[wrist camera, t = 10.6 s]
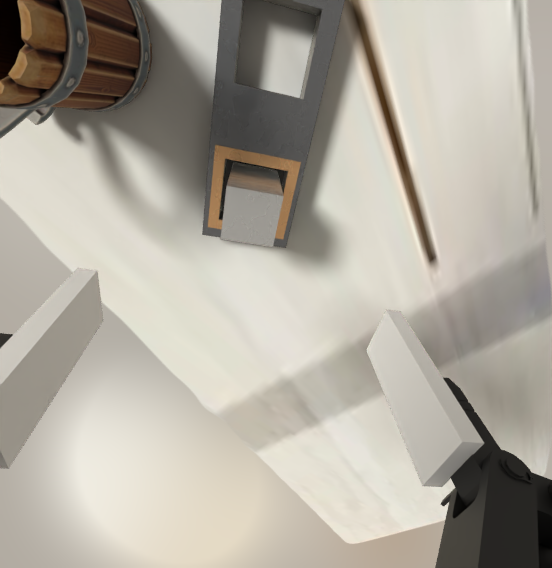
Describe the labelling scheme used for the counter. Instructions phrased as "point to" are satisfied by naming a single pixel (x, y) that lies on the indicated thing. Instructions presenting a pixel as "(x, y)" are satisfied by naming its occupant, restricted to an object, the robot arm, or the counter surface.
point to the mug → (70, 57)
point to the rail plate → (265, 113)
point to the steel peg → (252, 205)
